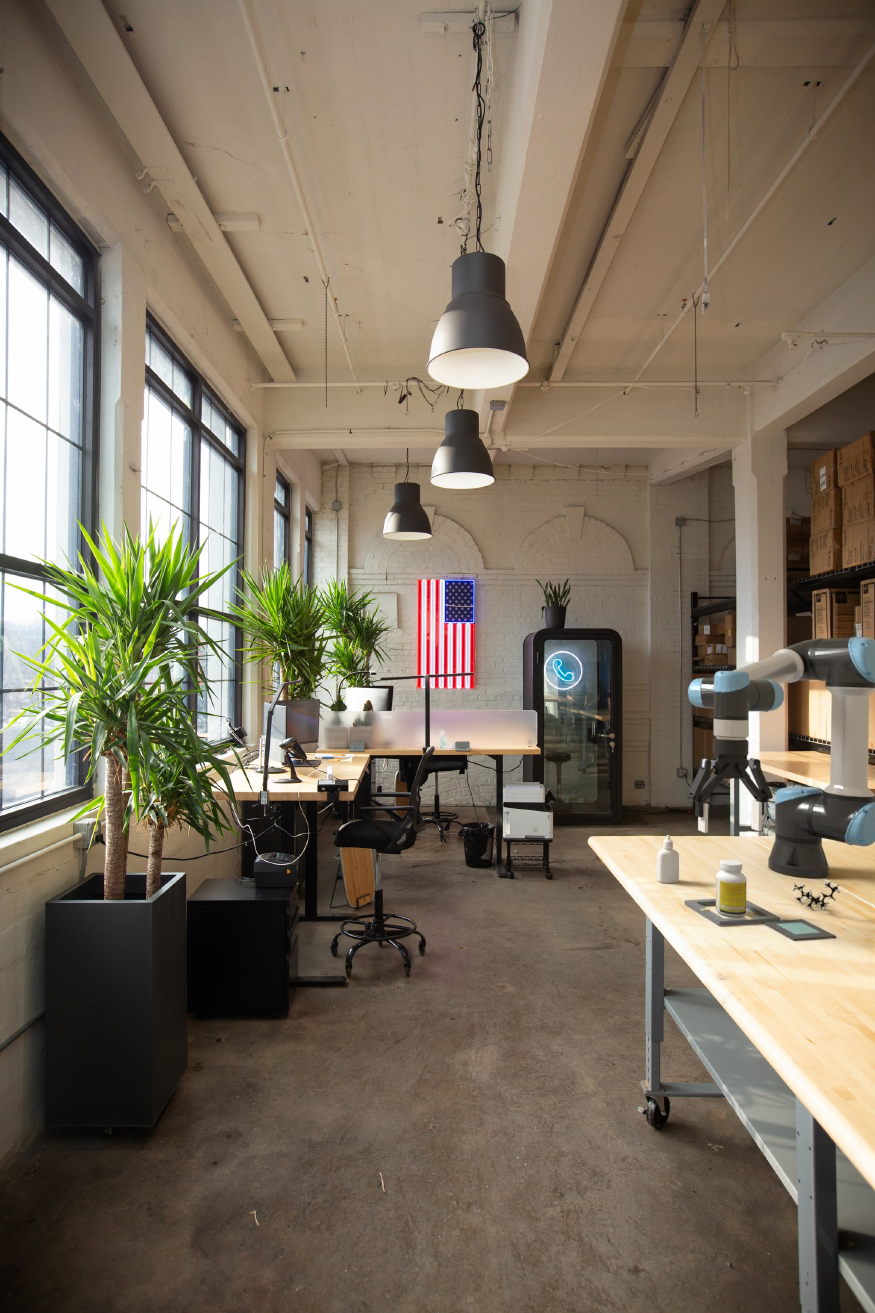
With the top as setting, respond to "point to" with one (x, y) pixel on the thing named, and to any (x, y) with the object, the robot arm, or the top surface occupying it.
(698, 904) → the socket plate
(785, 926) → the mat
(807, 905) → the molecular model
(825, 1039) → the top surface
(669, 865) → the eye dropper bottle
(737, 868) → the pill bottle
